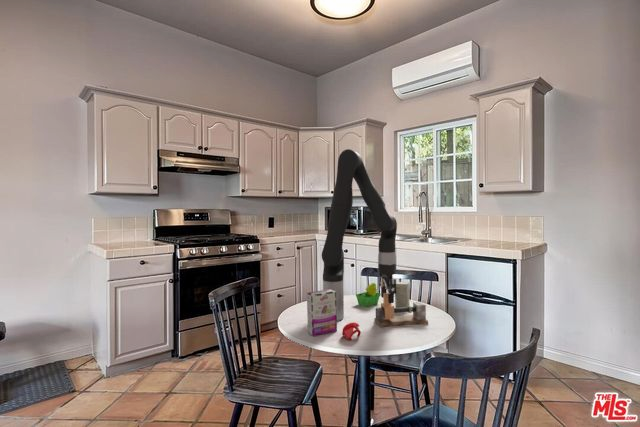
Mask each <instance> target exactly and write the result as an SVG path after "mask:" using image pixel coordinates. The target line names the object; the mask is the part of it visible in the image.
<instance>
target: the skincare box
mask: <svg viewBox="0 0 640 427" xmlns="http://www.w3.org/2000/svg"><path fill="white" fill-rule="evenodd" d="M394 304H395V306H394V308H402V307H407V306H410V282H404V281H396V294H394Z"/></svg>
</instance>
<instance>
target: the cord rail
mask: <svg viewBox="0 0 640 427" xmlns="http://www.w3.org/2000/svg"><path fill="white" fill-rule="evenodd" d="M426 312H427V305H426V304H425V303H423V302H422V301H416V302H412V306H411V305H409V306H407V307H402V308H395V307H394V314H396V313H399V314H400V313H408V314H410V315H398V316H397V315H396V316H395V315H394V319H384V309H381V306H380V307H375V317H374V319H373V321H374V323H375V324H376V325H377V326H378V327H379V328H380V329H382V328H394V327H395V328H396V327H408V326H421V325H428V324H429V320H428V319H427V313H426ZM411 313H412V314H411Z"/></svg>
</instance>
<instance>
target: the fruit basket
mask: <svg viewBox="0 0 640 427" xmlns="http://www.w3.org/2000/svg"><path fill="white" fill-rule="evenodd" d="M355 297H356V300H357V303H358V305H359V306H361V307H369V306H373V305H377V304H378V303H379V300H380V297H381V293H379V292H378V289H377V284H376V283H374V282H372V283H371V284H369V285H368V286H366V288H365V292H361V293H356V294H355Z"/></svg>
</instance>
